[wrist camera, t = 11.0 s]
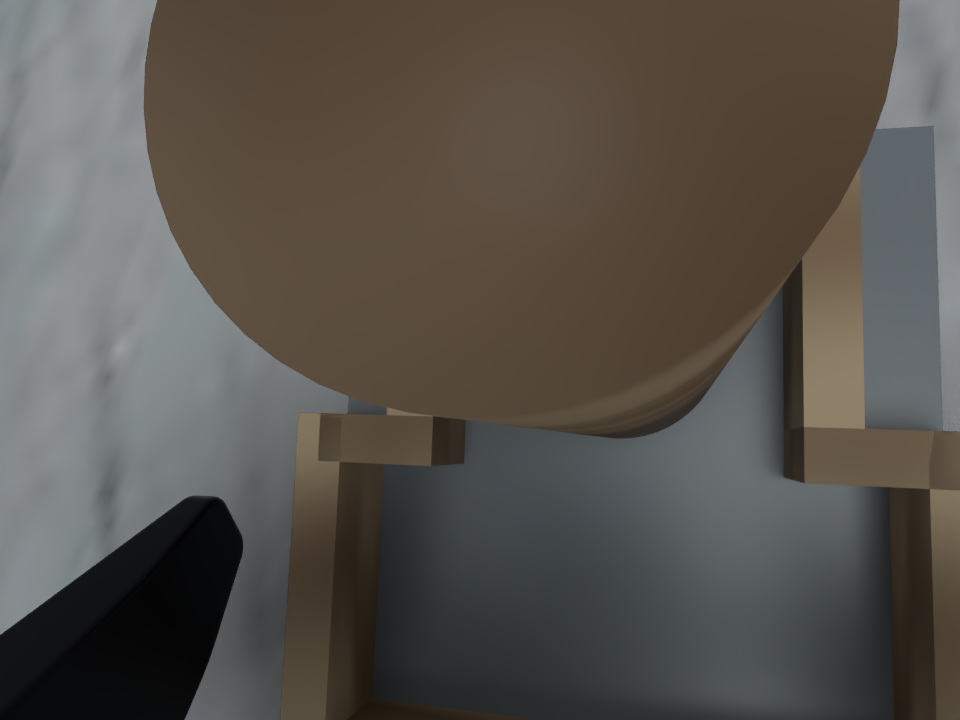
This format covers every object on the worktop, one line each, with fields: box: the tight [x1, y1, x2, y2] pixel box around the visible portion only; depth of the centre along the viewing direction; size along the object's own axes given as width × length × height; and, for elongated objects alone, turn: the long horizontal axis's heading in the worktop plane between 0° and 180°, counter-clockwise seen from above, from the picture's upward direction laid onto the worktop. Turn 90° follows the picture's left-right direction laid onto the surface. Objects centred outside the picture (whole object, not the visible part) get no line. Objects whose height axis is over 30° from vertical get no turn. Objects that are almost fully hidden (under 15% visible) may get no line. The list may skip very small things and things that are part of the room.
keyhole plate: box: [280, 126, 960, 720], centre depth 16 cm, size 14×13×4 cm
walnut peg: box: [144, 0, 899, 439], centre depth 11 cm, size 4×4×13 cm
